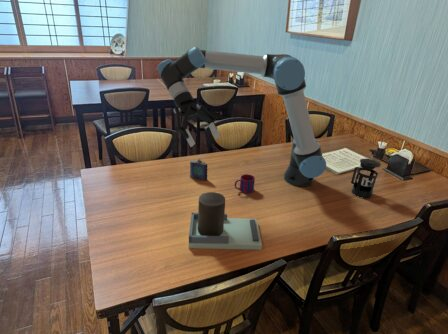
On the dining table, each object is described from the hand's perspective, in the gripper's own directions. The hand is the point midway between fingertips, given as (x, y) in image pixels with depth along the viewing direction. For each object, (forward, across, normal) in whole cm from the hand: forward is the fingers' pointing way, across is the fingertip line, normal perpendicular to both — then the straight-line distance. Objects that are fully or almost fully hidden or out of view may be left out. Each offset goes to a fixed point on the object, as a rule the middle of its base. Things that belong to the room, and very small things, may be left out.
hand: (206, 141), depth 121 cm
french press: (+52, -64, +10) cm, 83 cm away
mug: (+24, -23, -19) cm, 38 cm away
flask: (+7, -15, -35) cm, 39 cm away
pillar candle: (+31, +12, -8) cm, 34 cm away
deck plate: (+35, +8, -7) cm, 37 cm away
